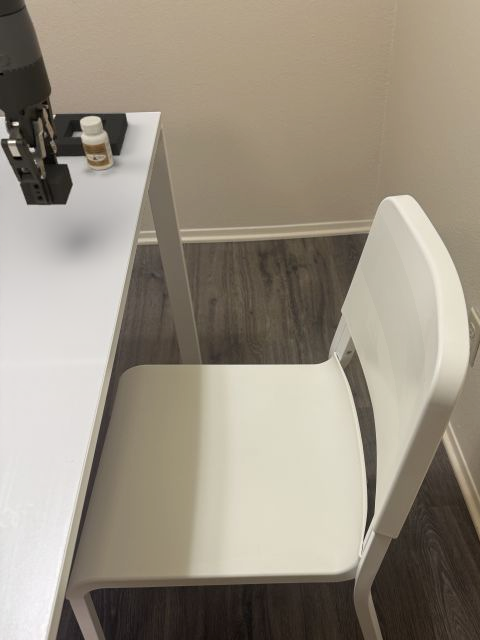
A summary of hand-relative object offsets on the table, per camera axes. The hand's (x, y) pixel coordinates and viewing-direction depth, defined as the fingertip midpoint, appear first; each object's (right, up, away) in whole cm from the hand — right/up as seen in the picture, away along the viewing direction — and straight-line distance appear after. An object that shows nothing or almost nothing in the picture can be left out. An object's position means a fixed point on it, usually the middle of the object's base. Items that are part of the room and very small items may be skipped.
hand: (49, 191), depth 80 cm
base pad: (-6, +21, +32) cm, 39 cm away
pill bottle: (-2, +14, +27) cm, 30 cm away
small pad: (0, 0, 0) cm, 0 cm away
